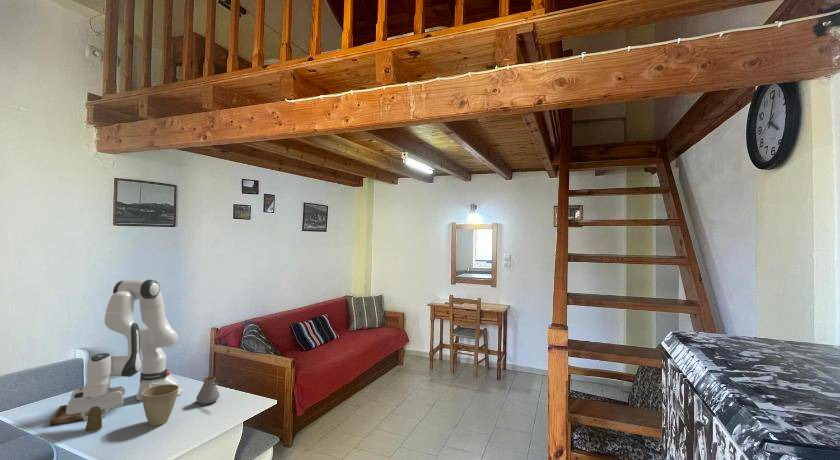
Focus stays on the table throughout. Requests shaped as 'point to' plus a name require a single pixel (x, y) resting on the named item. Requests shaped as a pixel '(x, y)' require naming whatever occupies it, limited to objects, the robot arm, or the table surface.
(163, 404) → the plant pot
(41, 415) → the table surface
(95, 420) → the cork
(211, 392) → the coffee pot
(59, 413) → the walnut tray
